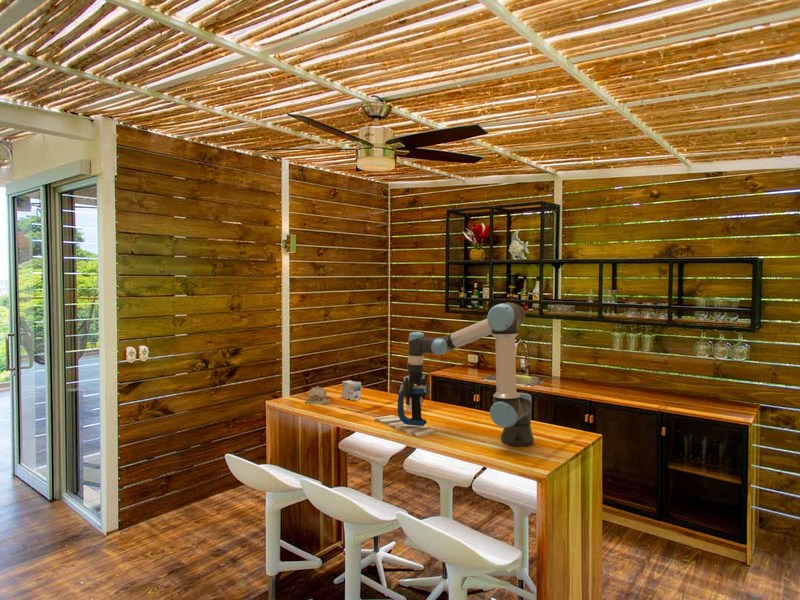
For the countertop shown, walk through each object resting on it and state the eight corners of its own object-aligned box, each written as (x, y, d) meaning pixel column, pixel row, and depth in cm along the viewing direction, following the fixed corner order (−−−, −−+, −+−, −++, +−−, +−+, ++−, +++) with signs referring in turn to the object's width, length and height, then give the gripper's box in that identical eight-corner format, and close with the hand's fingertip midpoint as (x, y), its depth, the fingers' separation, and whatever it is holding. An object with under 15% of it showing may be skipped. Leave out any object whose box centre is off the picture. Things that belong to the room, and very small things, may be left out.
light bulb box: (361, 399, 330) (361, 382, 330) (353, 401, 325) (353, 383, 324) (349, 396, 337) (349, 379, 337) (341, 398, 332) (341, 381, 332)
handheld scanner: (428, 426, 261) (428, 386, 261) (397, 424, 265) (397, 384, 265) (430, 424, 265) (430, 384, 265) (399, 422, 269) (399, 383, 269)
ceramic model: (303, 404, 314) (303, 387, 314) (308, 400, 325) (308, 383, 325) (326, 405, 313) (327, 388, 312) (331, 401, 324) (331, 385, 323)
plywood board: (436, 433, 261) (436, 430, 260) (416, 437, 253) (417, 434, 253) (392, 417, 289) (392, 414, 289) (374, 420, 282) (374, 417, 282)
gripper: (425, 361, 272) (424, 406, 273) (395, 364, 261) (394, 411, 262) (435, 363, 266) (433, 409, 267) (404, 366, 255) (403, 414, 256)
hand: (414, 410), depth 265 cm, fingers closed on handheld scanner, 6 cm apart
